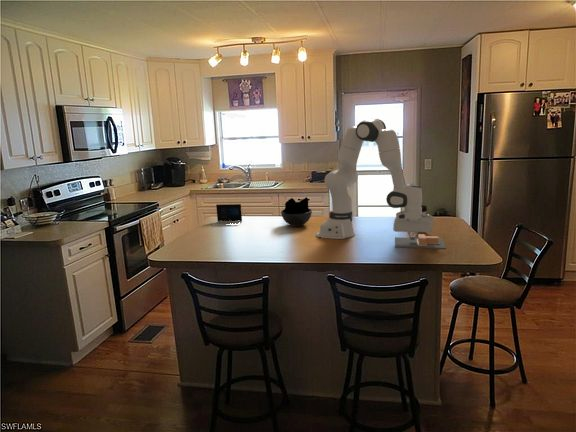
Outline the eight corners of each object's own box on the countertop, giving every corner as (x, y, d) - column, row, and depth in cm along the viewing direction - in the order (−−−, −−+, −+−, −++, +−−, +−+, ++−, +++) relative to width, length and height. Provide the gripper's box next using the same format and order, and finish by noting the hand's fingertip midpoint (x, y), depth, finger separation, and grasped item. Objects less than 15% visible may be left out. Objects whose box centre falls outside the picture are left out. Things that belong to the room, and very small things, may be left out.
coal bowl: (276, 228, 272) (275, 200, 267) (288, 221, 289) (287, 194, 285) (306, 230, 264) (305, 200, 260) (316, 223, 282) (315, 195, 278)
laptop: (211, 226, 287) (210, 208, 284) (217, 222, 299) (216, 204, 296) (237, 226, 284) (235, 207, 281) (242, 222, 296) (241, 204, 293)
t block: (419, 245, 221) (419, 239, 220) (417, 239, 231) (418, 234, 231) (439, 245, 218) (439, 240, 218) (437, 239, 229) (437, 234, 228)
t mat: (395, 247, 220) (395, 246, 220) (394, 238, 237) (394, 237, 237) (446, 248, 215) (446, 247, 214) (441, 239, 232) (441, 238, 232)
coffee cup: (427, 232, 245) (427, 207, 242) (412, 232, 247) (412, 207, 244) (425, 229, 253) (426, 204, 250) (411, 229, 255) (411, 204, 252)
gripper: (433, 213, 224) (432, 238, 227) (393, 213, 229) (393, 237, 232) (434, 216, 218) (433, 241, 221) (393, 215, 223) (393, 240, 226)
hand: (412, 239), depth 227 cm, fingers closed
